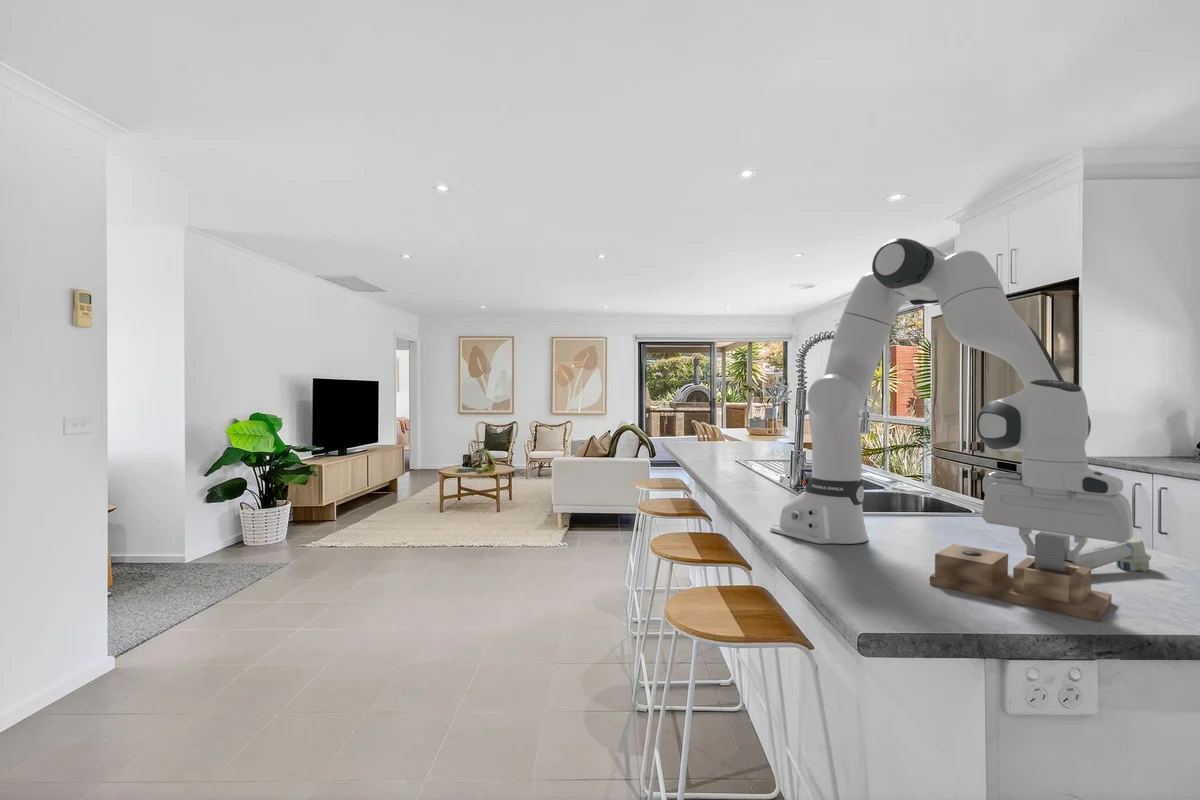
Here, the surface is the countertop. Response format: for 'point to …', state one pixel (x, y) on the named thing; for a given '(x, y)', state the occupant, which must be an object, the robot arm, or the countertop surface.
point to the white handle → (1116, 556)
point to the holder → (1019, 582)
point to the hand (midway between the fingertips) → (1052, 558)
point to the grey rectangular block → (1051, 552)
